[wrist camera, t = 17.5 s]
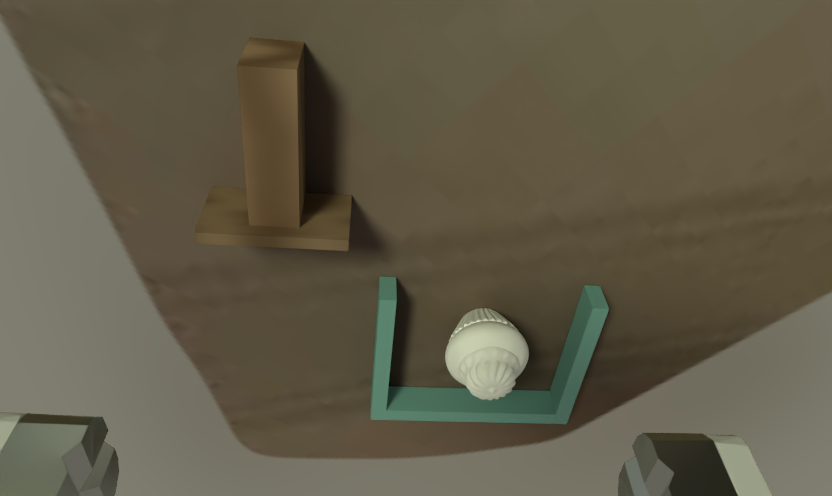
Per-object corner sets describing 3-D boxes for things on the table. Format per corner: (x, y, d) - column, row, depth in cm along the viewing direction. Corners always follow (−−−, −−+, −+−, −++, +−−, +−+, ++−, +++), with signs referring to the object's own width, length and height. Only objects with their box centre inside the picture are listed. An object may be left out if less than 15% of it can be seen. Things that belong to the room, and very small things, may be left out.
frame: (599, 285, 48) (609, 309, 46) (560, 400, 56) (566, 424, 54) (379, 276, 47) (379, 299, 45) (371, 395, 55) (370, 419, 53)
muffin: (484, 360, 53) (495, 432, 47) (425, 329, 50) (430, 400, 45) (537, 315, 50) (556, 386, 44) (478, 280, 47) (490, 350, 42)
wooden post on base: (358, 45, 36) (355, 82, 33) (351, 204, 43) (348, 251, 39) (194, 32, 36) (170, 68, 32) (213, 196, 42) (195, 243, 38)
